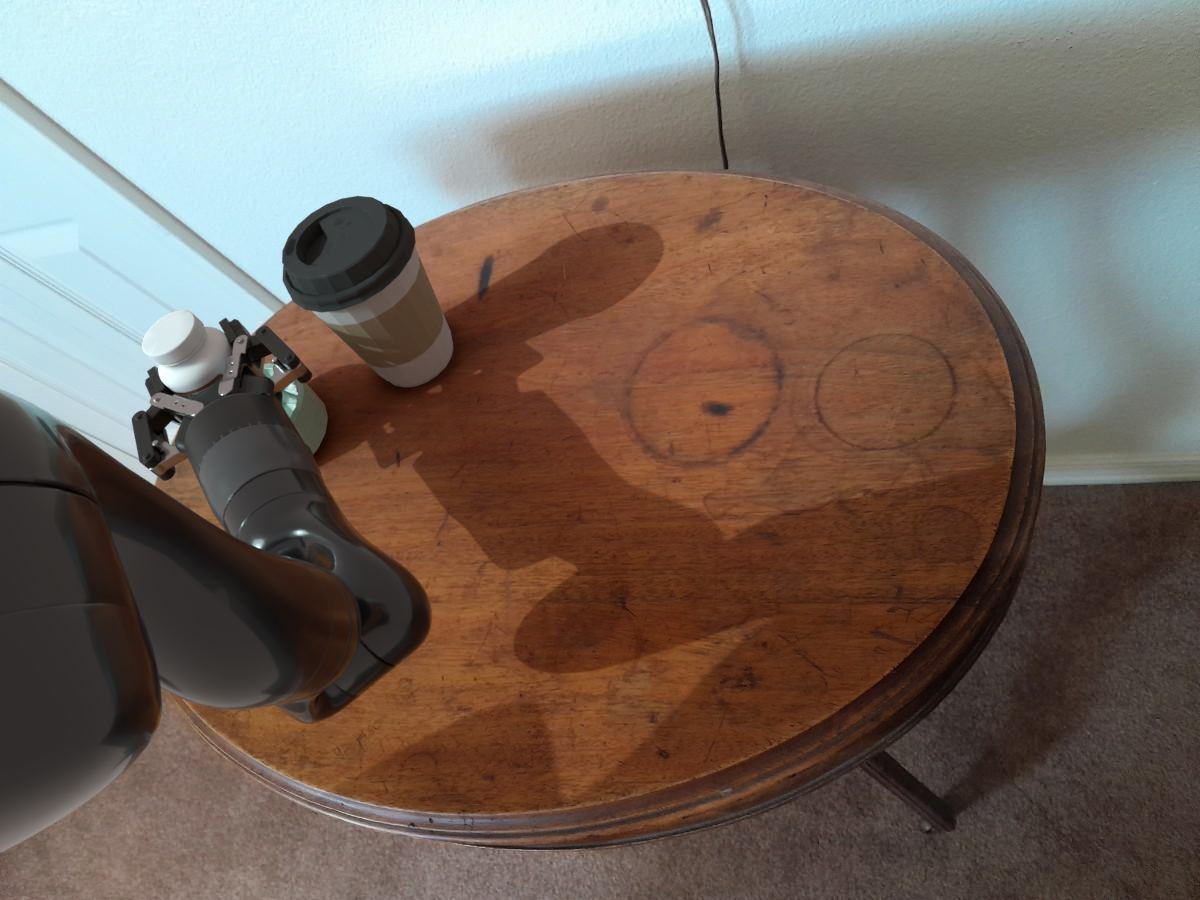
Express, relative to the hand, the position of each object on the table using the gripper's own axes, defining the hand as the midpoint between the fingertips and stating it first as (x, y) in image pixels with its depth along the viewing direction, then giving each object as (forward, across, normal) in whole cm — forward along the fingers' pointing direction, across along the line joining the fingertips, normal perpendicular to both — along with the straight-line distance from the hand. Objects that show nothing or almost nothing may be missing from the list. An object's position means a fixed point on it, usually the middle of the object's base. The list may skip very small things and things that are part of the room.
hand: (194, 351), depth 71 cm
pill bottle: (-2, 0, +7) cm, 8 cm away
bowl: (-2, 0, +11) cm, 11 cm away
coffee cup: (-4, -15, +11) cm, 19 cm away
